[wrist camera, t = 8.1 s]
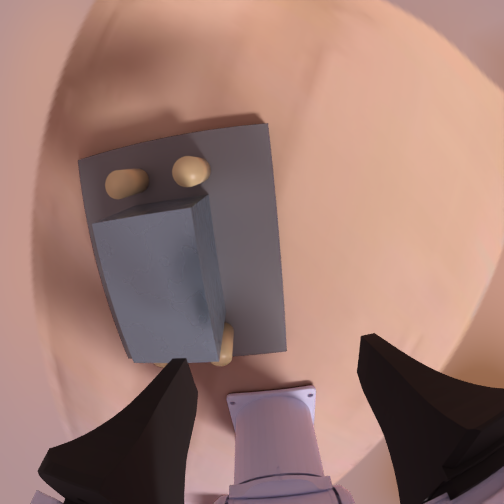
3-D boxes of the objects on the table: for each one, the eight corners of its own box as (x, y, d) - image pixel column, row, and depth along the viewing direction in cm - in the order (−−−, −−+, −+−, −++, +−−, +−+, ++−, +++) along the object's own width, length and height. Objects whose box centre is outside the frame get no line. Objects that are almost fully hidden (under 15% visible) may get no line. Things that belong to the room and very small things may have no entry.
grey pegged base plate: (285, 343, 21) (291, 377, 17) (132, 351, 21) (116, 381, 18) (266, 125, 16) (272, 114, 13) (85, 160, 17) (52, 161, 13)
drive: (225, 311, 19) (219, 361, 14) (158, 315, 19) (133, 362, 14) (208, 194, 17) (190, 207, 11) (134, 205, 17) (91, 223, 12)
